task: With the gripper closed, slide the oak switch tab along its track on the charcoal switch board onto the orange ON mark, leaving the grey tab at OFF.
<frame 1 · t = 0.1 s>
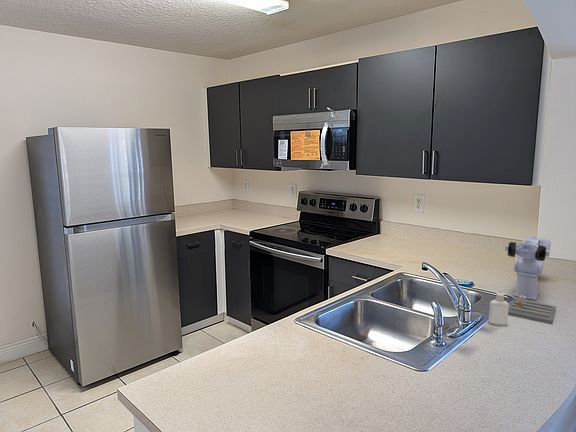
hand: (524, 253, 148), 22 cm above the worktop, tool horizontal, fingers open, 7 cm apart
grey tab: (522, 299, 154), point 3 cm above the worktop, slide at 0.0 cm
switch board: (531, 312, 149), on the worktop
eye dropper bottle: (497, 324, 140), on the worktop
oak tab: (519, 304, 148), point 3 cm above the worktop, slide at 0.0 cm
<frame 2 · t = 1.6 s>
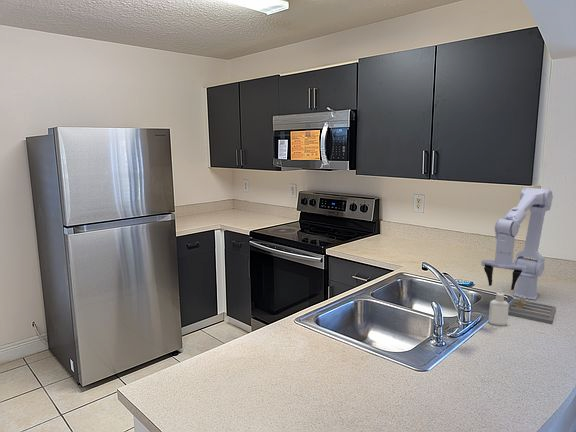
hand: (501, 287, 151), 8 cm above the worktop, tool pointing down, fingers open, 7 cm apart
nothing on the worktop moved.
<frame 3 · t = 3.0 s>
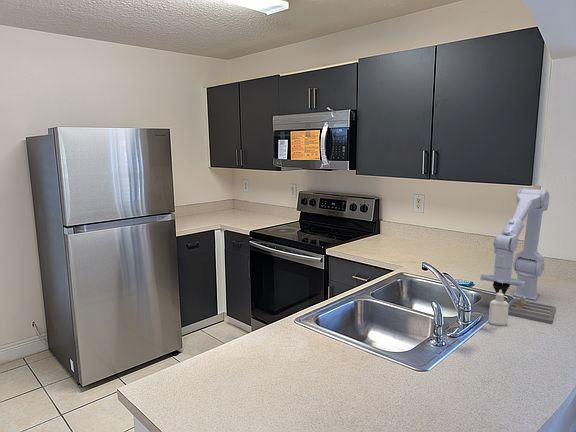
hand: (500, 301, 152), 3 cm above the worktop, tool pointing down, fingers closed
nothing on the worktop moved.
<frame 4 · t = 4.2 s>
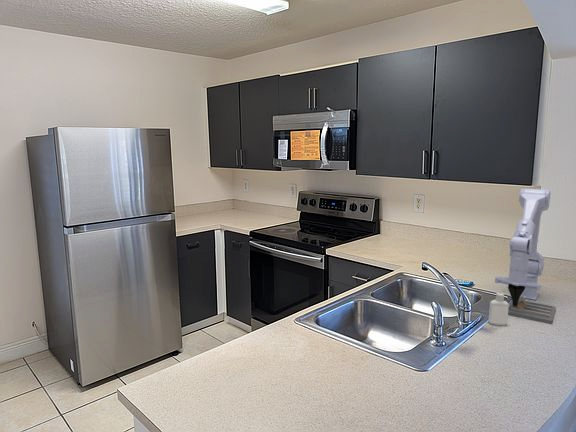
hand: (515, 304, 149), 3 cm above the worktop, tool pointing down, fingers closed
oak tab: (521, 305, 148), point 3 cm above the worktop, slide at 0.6 cm, touching gripper
everything else where it was.
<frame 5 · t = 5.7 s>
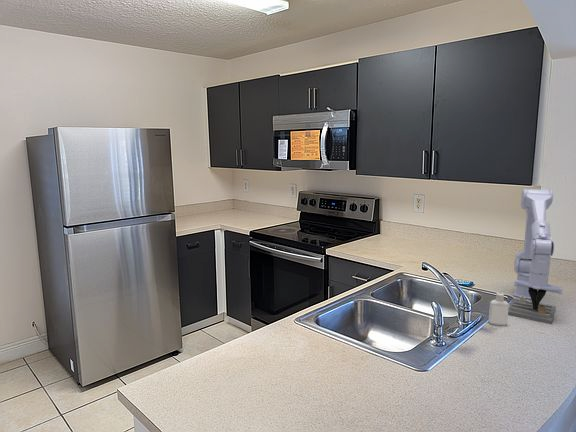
hand: (535, 308, 145), 3 cm above the worktop, tool pointing down, fingers closed
oak tab: (542, 309, 144), point 3 cm above the worktop, slide at 7.0 cm, touching gripper
everything else where it was.
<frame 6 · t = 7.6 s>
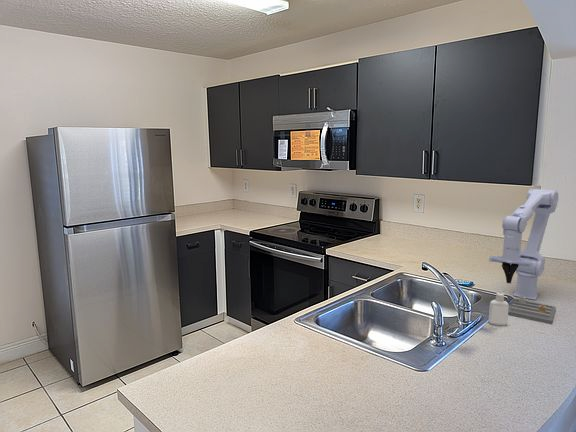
hand: (508, 282, 155), 9 cm above the worktop, tool pointing down, fingers closed
oak tab: (542, 309, 144), point 3 cm above the worktop, slide at 7.0 cm
everything else where it was.
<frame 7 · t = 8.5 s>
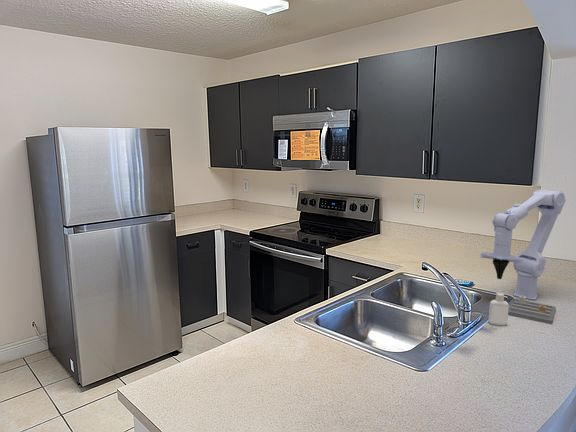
hand: (499, 278, 159), 9 cm above the worktop, tool pointing down, fingers closed
nothing on the worktop moved.
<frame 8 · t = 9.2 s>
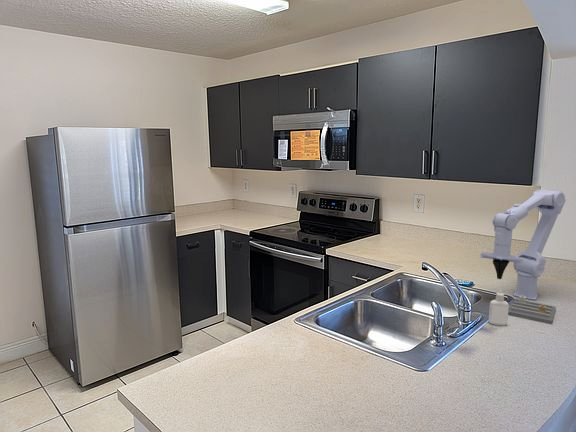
hand: (499, 278, 159), 9 cm above the worktop, tool pointing down, fingers closed
nothing on the worktop moved.
at the end: oak tab slide at 7.0 cm; grey tab slide at 0.0 cm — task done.
